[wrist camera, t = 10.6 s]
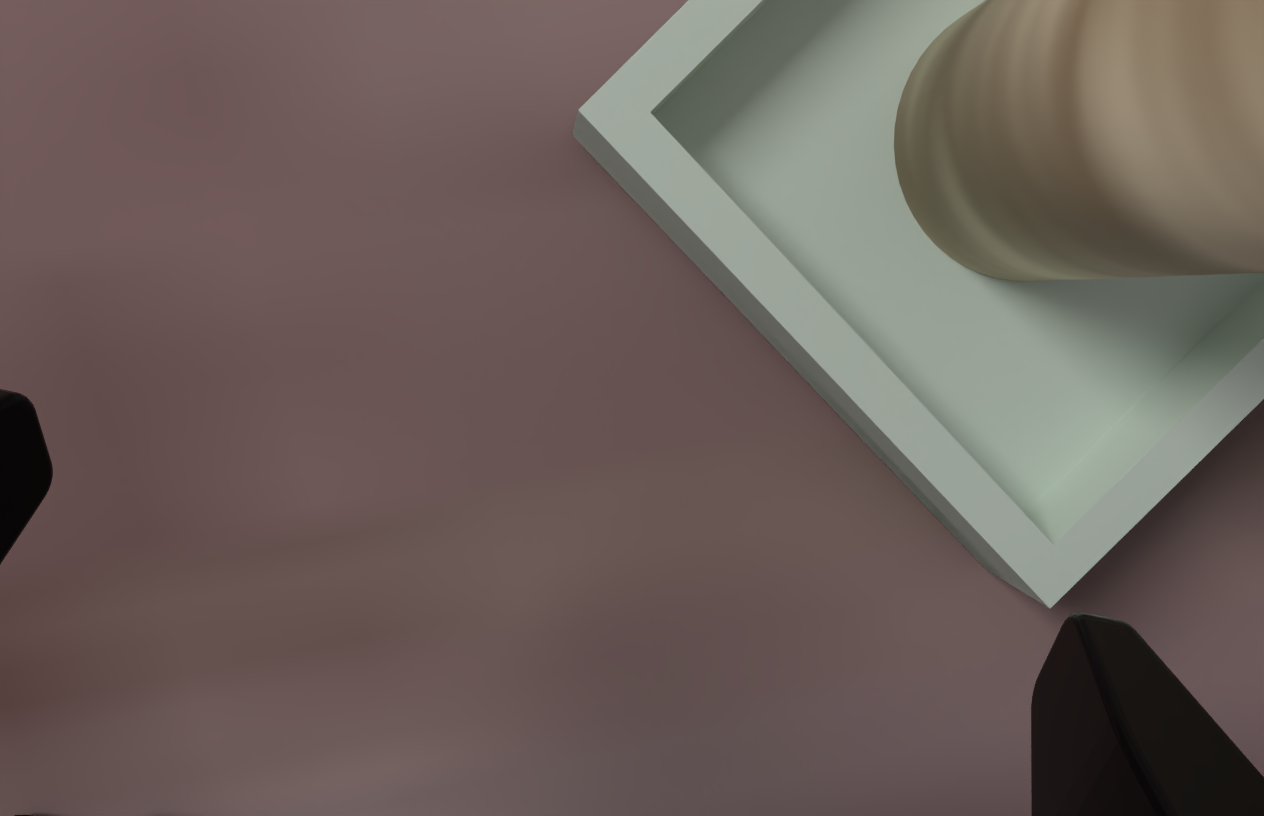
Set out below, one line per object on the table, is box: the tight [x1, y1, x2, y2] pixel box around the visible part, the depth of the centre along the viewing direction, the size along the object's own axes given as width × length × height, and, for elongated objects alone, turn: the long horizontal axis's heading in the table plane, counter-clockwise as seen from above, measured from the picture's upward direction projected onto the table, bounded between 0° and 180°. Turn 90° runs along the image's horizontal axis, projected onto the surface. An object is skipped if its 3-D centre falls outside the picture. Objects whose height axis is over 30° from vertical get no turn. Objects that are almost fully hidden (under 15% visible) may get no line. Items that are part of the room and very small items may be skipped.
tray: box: [572, 0, 1264, 608], centre depth 18 cm, size 12×12×2 cm
